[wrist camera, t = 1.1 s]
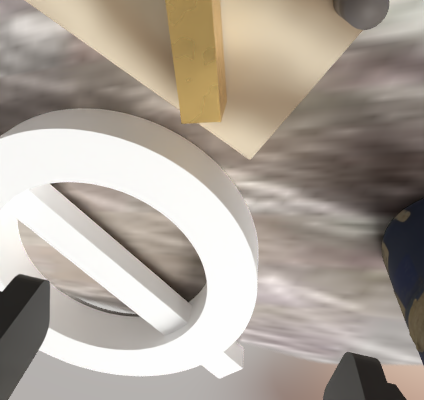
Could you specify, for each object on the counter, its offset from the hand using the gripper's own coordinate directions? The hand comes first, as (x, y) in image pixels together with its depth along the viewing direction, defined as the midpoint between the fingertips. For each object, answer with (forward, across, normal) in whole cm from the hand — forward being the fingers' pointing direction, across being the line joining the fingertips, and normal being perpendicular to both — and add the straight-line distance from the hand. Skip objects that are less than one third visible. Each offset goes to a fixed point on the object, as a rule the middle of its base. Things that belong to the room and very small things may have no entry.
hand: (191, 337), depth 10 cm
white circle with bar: (+24, +8, +16) cm, 29 cm away
